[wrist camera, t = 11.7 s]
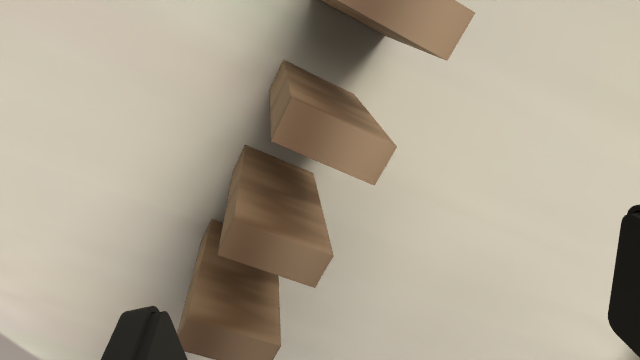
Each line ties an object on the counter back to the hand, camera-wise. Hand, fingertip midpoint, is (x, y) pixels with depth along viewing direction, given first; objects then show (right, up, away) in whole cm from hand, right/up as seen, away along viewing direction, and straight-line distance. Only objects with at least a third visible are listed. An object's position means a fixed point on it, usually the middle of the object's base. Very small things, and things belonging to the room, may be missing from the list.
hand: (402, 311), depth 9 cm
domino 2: (-8, -2, +22) cm, 23 cm away
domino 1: (-5, +3, +20) cm, 21 cm away
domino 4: (0, +13, +16) cm, 21 cm away
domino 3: (-2, +8, +18) cm, 20 cm away
